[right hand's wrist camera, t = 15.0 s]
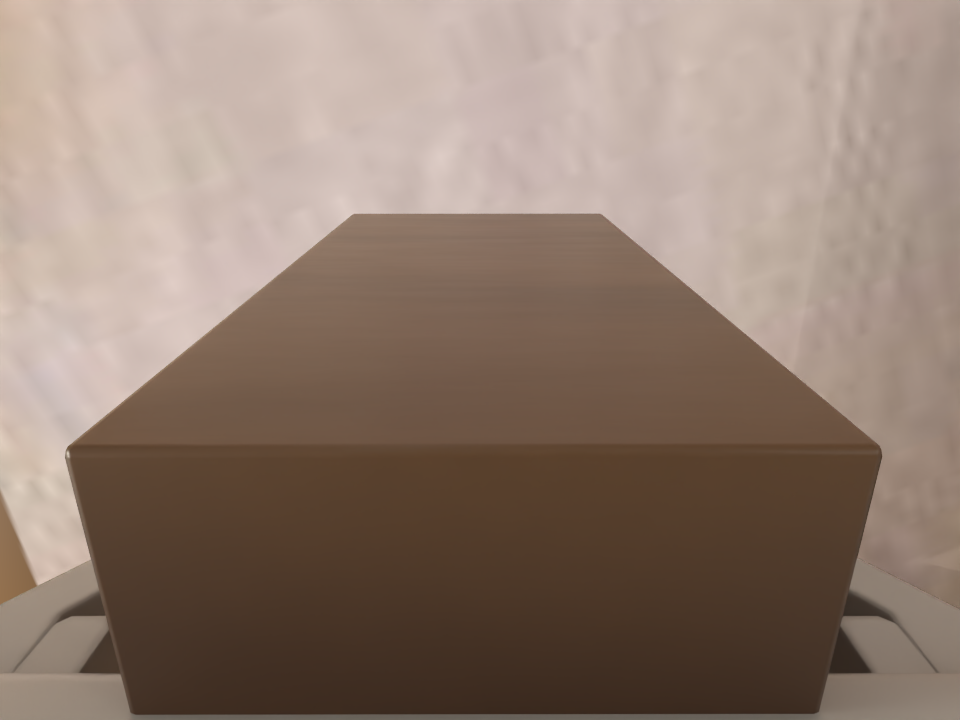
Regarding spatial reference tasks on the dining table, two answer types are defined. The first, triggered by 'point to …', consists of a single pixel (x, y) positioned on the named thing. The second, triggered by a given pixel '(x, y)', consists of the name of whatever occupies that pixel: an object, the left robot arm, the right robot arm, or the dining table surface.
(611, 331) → the bar
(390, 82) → the dining table surface
